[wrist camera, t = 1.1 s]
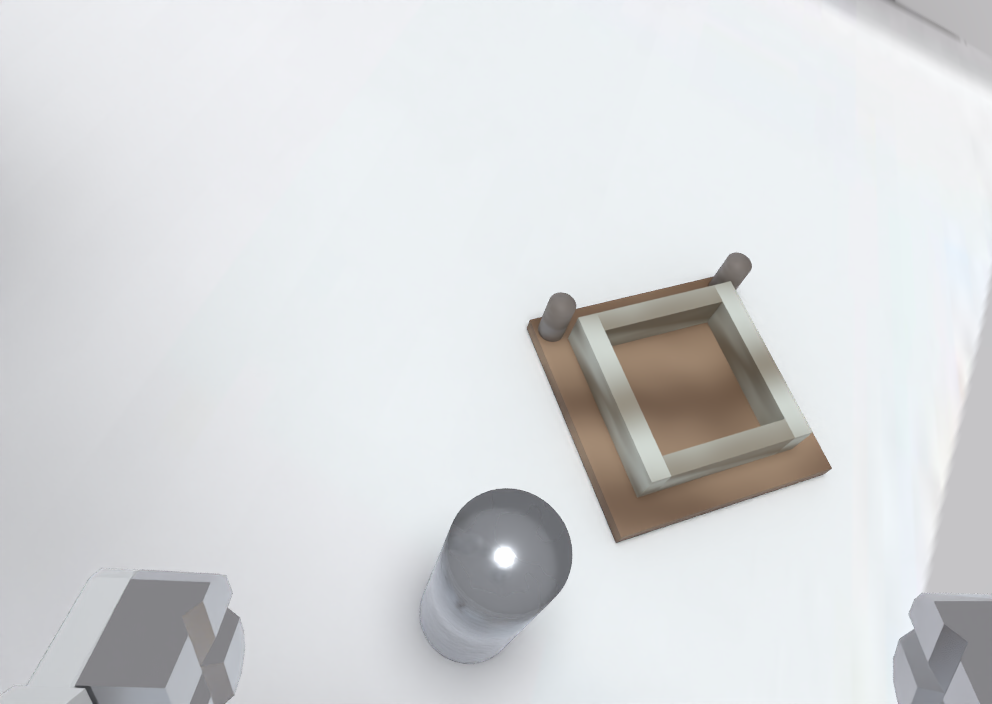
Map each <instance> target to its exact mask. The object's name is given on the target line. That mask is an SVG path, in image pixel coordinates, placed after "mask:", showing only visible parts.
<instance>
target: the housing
mask: <svg viewBox="0 0 992 704" xmlns="http://www.w3.org/2000/svg"><path fill="white" fill-rule="evenodd" d="M751 268H752V264H751V262H750V260H749V258H748V257H746V256H745V255H743V254H741V253H732V254H730V255H729V256H728V257H727V259H726V260H725V262H724V263H723V264H722V266H721V267H720V269H719V270H718V271H717V273H716V274H715V276H714V277H710V278H706V279H702V280H697V281H693V282H689V283H685V284H680V285H676V286H672V287H668V288H663V289H659V290H655V291H651V292H646V293H642V294H638V295H634V296H629V297H625V298H621V299H617V300H612V301H608V302H604V303H600V304H595V305H591V306H587V307H583V308H578V309H576V303H575V300H574V299H573V298H572V297H571V296H570V295H568V294H566V293H556V294H554V295H552V296H551V298H550V300H549V302H548V304H547V307H546V309H545V311H544V314H543V316H542V317H540V318H536V319H532V320H530V321H529V324H528V326H527V330H528V332H529V335H530V337H531V339H532V342H533V344H534V347H535V349H536V351H537V354H538V356H539V359H540V361H541V363H542V366H543V368H544V371H545V373H546V375H547V378H548V380H549V383H550V385H551V387H552V390H553V392H554V395H555V397H556V400H557V402H558V404H559V407H560V409H561V412H562V414H563V416H564V419H565V421H566V424H567V426H568V428H569V431H570V433H571V436H572V438H573V440H574V443H575V445H576V448H577V450H578V452H579V455H580V457H581V460H582V462H583V464H584V467H585V469H586V472H587V474H588V476H589V479H590V481H591V484H592V486H593V488H594V491H595V493H596V496H597V498H598V500H599V503H600V505H601V508H602V510H603V512H604V515H605V517H606V520H607V522H608V525H609V527H610V529H611V532H612V534H613V537H614V539H615V541H616V543H617V542H620V541H623V540H626V539H629V538H632V537H635V536H638V535H641V534H644V533H647V532H650V531H653V530H656V529H659V528H662V527H665V526H668V525H671V524H674V523H678V522H681V521H684V520H687V519H690V518H693V517H696V516H699V515H702V514H705V513H708V512H711V511H714V510H717V509H720V508H723V507H726V506H729V505H732V504H735V503H738V502H741V501H744V500H747V499H750V498H753V497H756V496H759V495H762V494H765V493H768V492H771V491H774V490H777V489H780V488H784V487H787V486H790V485H793V484H796V483H799V482H802V481H805V480H808V479H811V478H814V477H817V476H820V475H823V474H825V473H826V472H828V471H829V470H830V469H832V468H831V466H830V464H829V462H828V460H827V458H826V456H825V455H824V453H823V451H822V449H821V447H820V445H819V444H818V442H817V440H816V438H815V436H814V434H813V432H812V430H811V428H810V427H809V425H808V423H807V421H806V419H805V417H804V415H803V414H802V412H801V410H800V408H799V406H798V404H797V403H796V401H795V399H794V397H793V395H792V393H791V391H790V390H789V388H788V386H787V384H786V382H785V380H784V379H783V377H782V375H781V373H780V371H779V369H778V367H777V366H776V364H775V362H774V360H773V358H772V356H771V355H770V353H769V351H768V349H767V347H766V345H765V343H764V342H763V340H762V338H761V336H760V334H759V332H758V331H757V329H756V327H755V325H754V323H753V321H752V319H751V318H750V316H749V314H748V312H747V310H746V308H745V307H744V305H743V303H742V301H741V299H740V297H739V295H738V294H737V292H736V289H737V288H738V286H739V285H740V284H741V282H742V281H743V280H744V278H745V277H746V276H747V274H748V273H749V272H750V270H751Z"/></svg>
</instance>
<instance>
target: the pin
mask: <svg viewBox="0 0 992 704" xmlns="http://www.w3.org/2000/svg"><path fill="white" fill-rule="evenodd" d="M571 564H572V545H571V540H570V536H569V533H568V530H567V528H566V526H565V524H564V522H563V521H562V519H561V518H560V516H559V515H558V514H557V512H556V511H555V510H554V509H553V508H552V507H551V506H550V505H549V504H548V503H546V502H545V501H544V500H542V499H541V498H539V497H537V496H535V495H533V494H531V493H529V492H525V491H522V490H517V489H506V488H504V489H495V490H491V491H488V492H485V493H482V494H480V495H478V496H476V497H475V498H473V499H472V500H470V501H469V502H468V503H467V504H466V505H465V506H464V507H463V508H462V509H461V510H460V511H459V513H458V514H457V516H456V517H455V519H454V521H453V523H452V525H451V528H450V530H449V533H448V535H447V537H446V540H445V542H444V545H443V547H442V550H441V552H440V555H439V557H438V560H437V562H436V564H435V567H434V569H433V572H432V574H431V577H430V579H429V582H428V584H427V587H426V589H425V591H424V594H423V597H422V600H421V605H420V621H421V626H422V629H423V632H424V634H425V636H426V638H427V640H428V641H429V643H430V644H431V646H432V647H433V648H434V649H435V650H436V651H437V652H439V653H440V654H441V655H443V656H444V657H446V658H448V659H450V660H452V661H455V662H459V663H466V664H472V663H479V662H482V661H486V660H488V659H490V658H492V657H493V656H495V655H496V654H498V653H499V652H500V651H501V650H502V649H503V648H504V647H505V646H506V645H507V644H508V643H509V642H510V641H511V640H512V639H513V638H514V637H515V636H516V635H517V634H518V633H519V632H520V631H521V630H522V629H524V628H525V627H526V626H527V625H528V624H529V623H530V622H531V621H532V620H533V619H534V618H535V617H536V616H537V615H538V614H539V613H540V612H541V611H542V610H543V609H544V608H545V607H546V606H547V605H548V604H549V603H550V602H551V601H552V600H553V599H554V598H555V597H556V596H557V594H558V593H559V592H560V591H561V589H562V588H563V586H564V585H565V583H566V581H567V579H568V576H569V573H570V569H571Z"/></svg>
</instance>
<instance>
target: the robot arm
mask: <svg viewBox="0 0 992 704" xmlns="http://www.w3.org/2000/svg"><path fill="white" fill-rule="evenodd" d="M232 594H233V593H232V590H231V587H230V584H229V581H228V579H227V576H226V575H222V574H209V573H191V572H173V571H155V570H131V569H108V568H101V569H99V570H98V571H97V572H96V573H95V574H93V575H92V576H91V577H90V578H89V579H88V581H87V582H86V584H85V586H84V587H83V589H82V591H81V593H80V594H79V596H78V598H77V599H76V601H75V603H74V605H73V606H72V608H71V610H70V612H69V613H68V615H67V617H66V618H65V620H64V622H63V624H62V625H61V627H60V629H59V630H58V632H57V634H56V636H55V637H54V639H53V641H52V643H51V644H50V646H49V648H48V649H47V651H46V653H45V655H44V656H43V658H42V660H41V661H40V663H39V665H38V667H37V668H36V670H35V672H34V673H33V675H32V677H31V679H30V680H29V682H28V684H27V685H14V686H13V687H11V688H10V689H8V690H7V691H6V692H4V693H3V694H2V695H0V704H225V703H226V702H227V701H228V700H229V699H231V698H232V697H233V696H234V694H235V691H236V688H237V685H238V682H239V679H240V676H241V673H242V666H243V659H244V652H245V642H244V630H243V627H242V623H241V619H240V617H239V616H237V615H236V614H235V613H234V612H232V611H231V610H230V609H228V608H227V607H228V605H229V602H230V599H231V597H232ZM909 616H910V619H911V621H912V624H913V626H914V629H913V630H912V631H910V632H909V633H907V634H906V635H904V636H903V637H901V638H900V639H899V641H898V645H897V648H896V651H895V654H894V657H893V682H894V687H895V692H896V697H897V702H898V704H992V594H954V593H921V594H920V595H919V596H918V597H917V598H915V599H914V601H913V604H912V606H911V609H910V611H909Z"/></svg>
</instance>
